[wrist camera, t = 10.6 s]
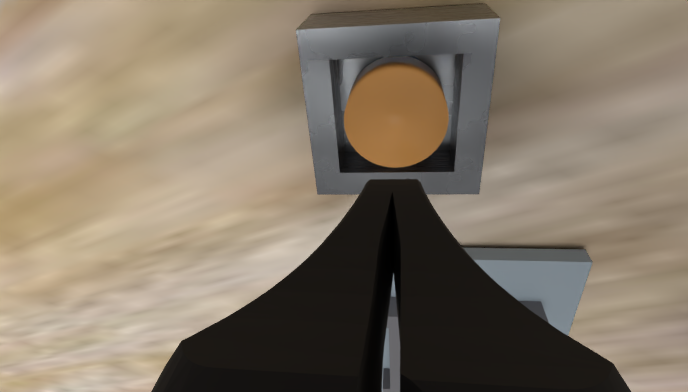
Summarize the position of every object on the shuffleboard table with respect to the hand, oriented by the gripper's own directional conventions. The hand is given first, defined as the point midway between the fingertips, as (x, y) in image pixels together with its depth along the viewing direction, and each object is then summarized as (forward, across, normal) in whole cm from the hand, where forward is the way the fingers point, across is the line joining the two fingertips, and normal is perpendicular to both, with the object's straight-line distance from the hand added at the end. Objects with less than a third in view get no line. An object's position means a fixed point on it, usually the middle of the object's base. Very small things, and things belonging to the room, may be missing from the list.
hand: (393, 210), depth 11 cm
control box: (+9, 0, 0) cm, 9 cm away
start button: (+8, 0, 0) cm, 8 cm away
